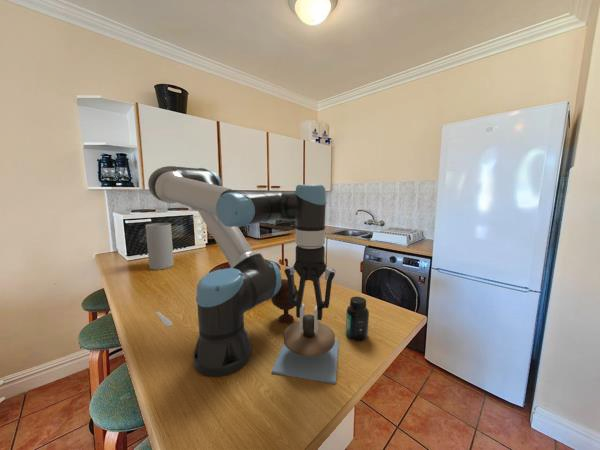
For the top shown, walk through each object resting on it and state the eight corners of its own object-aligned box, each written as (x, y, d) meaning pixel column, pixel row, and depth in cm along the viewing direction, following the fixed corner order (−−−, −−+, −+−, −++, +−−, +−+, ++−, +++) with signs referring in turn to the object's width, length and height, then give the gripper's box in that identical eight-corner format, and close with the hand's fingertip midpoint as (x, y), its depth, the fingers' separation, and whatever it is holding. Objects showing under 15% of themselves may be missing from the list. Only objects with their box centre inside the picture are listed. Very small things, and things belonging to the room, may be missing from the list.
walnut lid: (276, 351, 60) (276, 329, 59) (290, 321, 74) (290, 302, 73) (332, 360, 57) (333, 336, 56) (336, 327, 71) (336, 307, 70)
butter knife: (164, 327, 79) (173, 323, 81) (141, 301, 97) (149, 299, 99) (164, 329, 79) (173, 325, 81) (141, 303, 97) (149, 300, 99)
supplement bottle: (346, 340, 73) (347, 304, 71) (345, 328, 80) (346, 294, 78) (369, 343, 72) (371, 305, 70) (366, 329, 79) (368, 295, 77)
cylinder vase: (154, 263, 145) (151, 223, 141) (176, 262, 147) (173, 222, 143) (145, 270, 133) (141, 226, 129) (169, 269, 135) (166, 226, 131)
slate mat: (271, 372, 60) (271, 370, 60) (287, 335, 76) (287, 333, 76) (335, 384, 57) (335, 381, 57) (338, 342, 72) (338, 340, 72)
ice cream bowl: (298, 329, 79) (298, 286, 76) (266, 325, 81) (265, 283, 79) (304, 313, 89) (304, 274, 87) (275, 310, 91) (275, 272, 89)
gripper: (342, 243, 63) (339, 325, 67) (283, 240, 67) (284, 318, 70) (341, 250, 56) (338, 341, 60) (275, 246, 59) (276, 333, 63)
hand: (309, 328), depth 65 cm, fingers closed on walnut lid, 3 cm apart
